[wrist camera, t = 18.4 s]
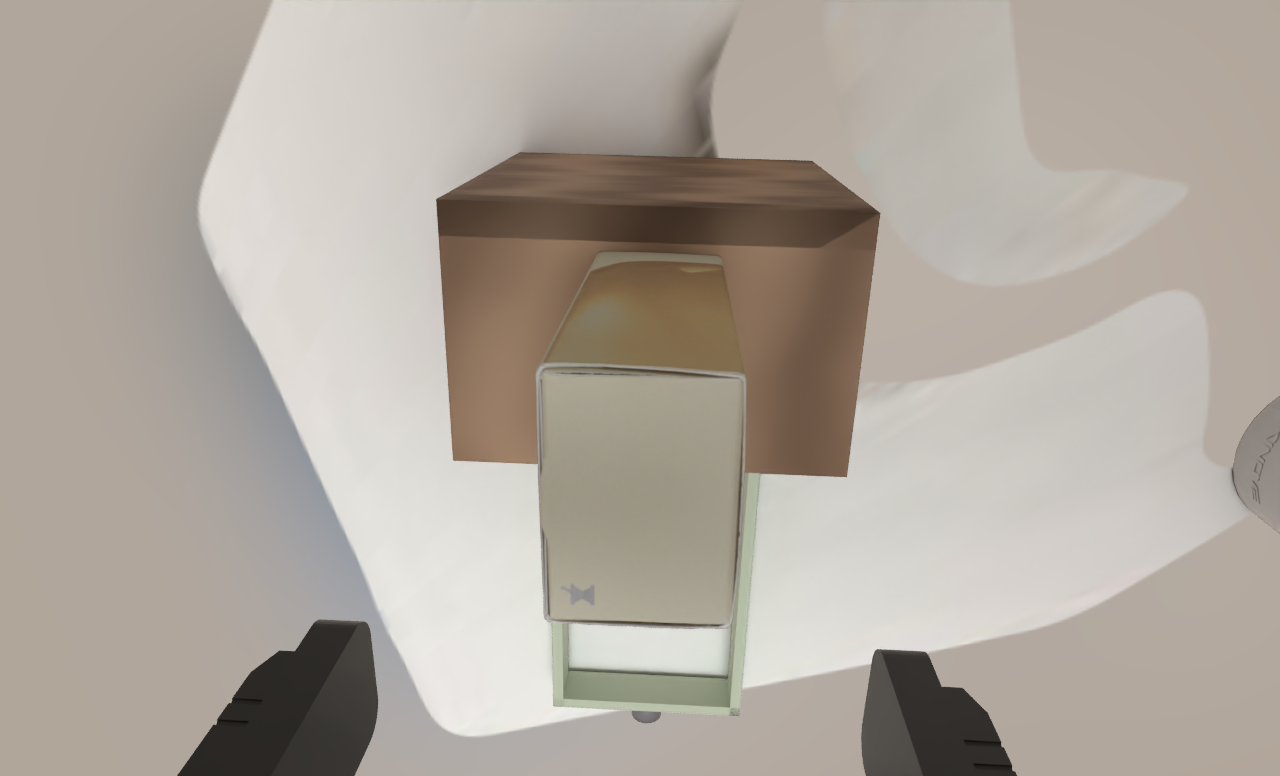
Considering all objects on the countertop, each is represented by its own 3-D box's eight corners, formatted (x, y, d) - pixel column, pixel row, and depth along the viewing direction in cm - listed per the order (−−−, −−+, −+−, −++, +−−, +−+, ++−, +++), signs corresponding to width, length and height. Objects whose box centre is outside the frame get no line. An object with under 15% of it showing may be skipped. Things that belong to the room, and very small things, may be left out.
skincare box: (715, 423, 30) (736, 646, 18) (594, 419, 30) (540, 638, 19) (724, 243, 27) (755, 372, 16) (593, 240, 28) (531, 366, 16)
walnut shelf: (811, 160, 41) (880, 213, 27) (794, 344, 44) (846, 477, 30) (520, 152, 42) (436, 199, 27) (525, 335, 45) (453, 460, 31)
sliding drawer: (759, 415, 46) (763, 434, 43) (735, 702, 53) (738, 731, 51) (555, 407, 46) (548, 426, 44) (559, 693, 53) (553, 721, 51)
